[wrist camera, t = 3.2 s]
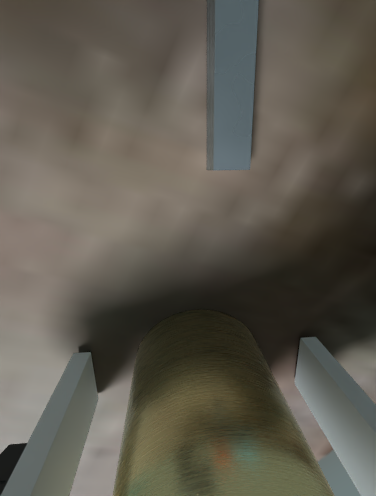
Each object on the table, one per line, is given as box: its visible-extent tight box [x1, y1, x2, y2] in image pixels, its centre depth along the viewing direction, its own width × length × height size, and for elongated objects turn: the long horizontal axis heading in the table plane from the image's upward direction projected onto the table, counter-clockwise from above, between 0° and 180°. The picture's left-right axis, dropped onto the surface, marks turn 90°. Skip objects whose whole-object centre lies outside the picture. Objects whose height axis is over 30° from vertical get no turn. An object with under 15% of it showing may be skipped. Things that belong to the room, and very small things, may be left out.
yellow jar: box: [113, 310, 334, 496], centre depth 8 cm, size 6×6×10 cm
